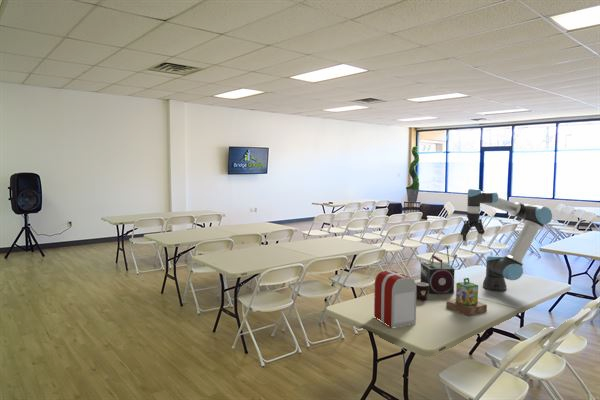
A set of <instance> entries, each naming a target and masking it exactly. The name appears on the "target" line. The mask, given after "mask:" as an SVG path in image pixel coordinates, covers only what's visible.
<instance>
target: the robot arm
mask: <svg viewBox="0 0 600 400" xmlns="http://www.w3.org/2000/svg"><path fill="white" fill-rule="evenodd" d="M481 204H483V205H486V206H489V207H491V208H494V209H497V210H500V211H505V212H507V213H510V215H511V216H514V217H517V218H519V219H521V220H523V221H524V226H523V227H522V229H521V231H520V233H519V235H518V237H517V239H516V241H515V243H514V245H513V247H512V248H511V250H510V252H509V253H508V254H507V255H495V254H493V255H488V256H487V257H486V261H485V262H486V264H485V265H486V266H485V277H484V280H483V282H482V287H483V288H484V289H486V290H489V291H490V290H491V291H497V292H502V291H503V292H504V291H507V284H506V283H507V282H506V280H509V281H517V280H519V279H521V278H522V276H523V274H524V268H523V265H524V263H523V260H524V259H525V256H526V254H527V252H528V250H529V249H530V247H531V245H532V243H533V241H534V239H535V237H536V235H537V234H538V232H539V230H542V229H543V228H544V226H545V225H548V224H550V222H551V221H552V219H553V213H552V210H551V209H550V208H549V207H547V206H543V205H537V204H530V203H521V202H518V201H517V202H516V201H515V202H514V201H510V200H507V199H503V198H501V197H499V194H498V193H497V192H496V191H484V190H483V191H482V190H481V189H480V188H469V189H468V190H467V209H466V211H467V213H466V218H467V220H466V219H465V220H464V221H463V222H464V223H463V225H462V229H461V231H460V234H459V235H461V236H462V246H465V247H468V234H469V232H470V230H471V228H475V230H476V231H477V237H476V238H477V239H476V244H480V245H482V239H483V235H484V234H485V229H484V226H483V222H482V221H483V220H482V219H481V218H480V216H481V215H480V214H481Z"/></svg>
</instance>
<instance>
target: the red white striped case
mask: <svg viewBox="0 0 600 400" xmlns="http://www.w3.org/2000/svg"><path fill="white" fill-rule="evenodd" d="M373 293H374V298H373V299H374V301H373V302H374V307H373V309H374V310H373V317H374V316H375V317H376V318H378V319H380V320H381V321H382V322H384V323H386V324H387V325H389V326H390V327H392V328H393V327H399V328H401V327H400V326H403V327H406V326H405V325H408V326H410V325H409V324H413V325H415V324H414V323H416V320H417V317H416V316H417V299H416V281H415V280H414V278H412V277H410V276H408V275H405V273H401V272H399V271H395V270H393V269H392V270H391V269H390V270H389V269H385V270H382V271H380V272H379V273H378V274H377V275H376V276H375V280H374V292H373ZM376 318H375V319H376ZM382 322H381V323H382ZM387 325H386V326H387ZM390 327H389V328H390ZM392 328H391V329H392Z"/></svg>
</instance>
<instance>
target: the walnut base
mask: <svg viewBox="0 0 600 400" xmlns="http://www.w3.org/2000/svg"><path fill="white" fill-rule="evenodd" d="M445 302H446V305H445V307H446V308H448V309H450V310H453V311H455V312H457V313H459V314H463V315H465V316H468V317H470V316H473V315H476V314H481V313H485V312H487V311H488V310H487V309H488V305H487V304H486V303H483V302H480V301H478V303H477V304H473V305H469V306H468V305H465V304H462V303H459V302H456V298H453V299H449V300H448V299H447V300H446V301H445Z"/></svg>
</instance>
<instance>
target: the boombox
mask: <svg viewBox="0 0 600 400" xmlns="http://www.w3.org/2000/svg"><path fill="white" fill-rule="evenodd" d="M449 247H450V246H449V245H445V248H446V256H447V263H448V264H447V263H445V262H443V260H442V259H441V258H439V257H438V256H436V255H435V254H431V262H427V261H424V262H420V281H419V282H424V283H427V284H429V286H428V293H427V294H429V295H432V294H433V295H435V294H436V295H439V294H441V295H442V294H443V295H444V294H446V295H447V294H449V295H450V294H455V268H453V265H454V262H455V260H456V258H457V257H458V254H456V253H455V254H454V255H453V259H452V263H451V262H450V256H449ZM434 260H436V261H437V262H434ZM450 264H451V265H450Z"/></svg>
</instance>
